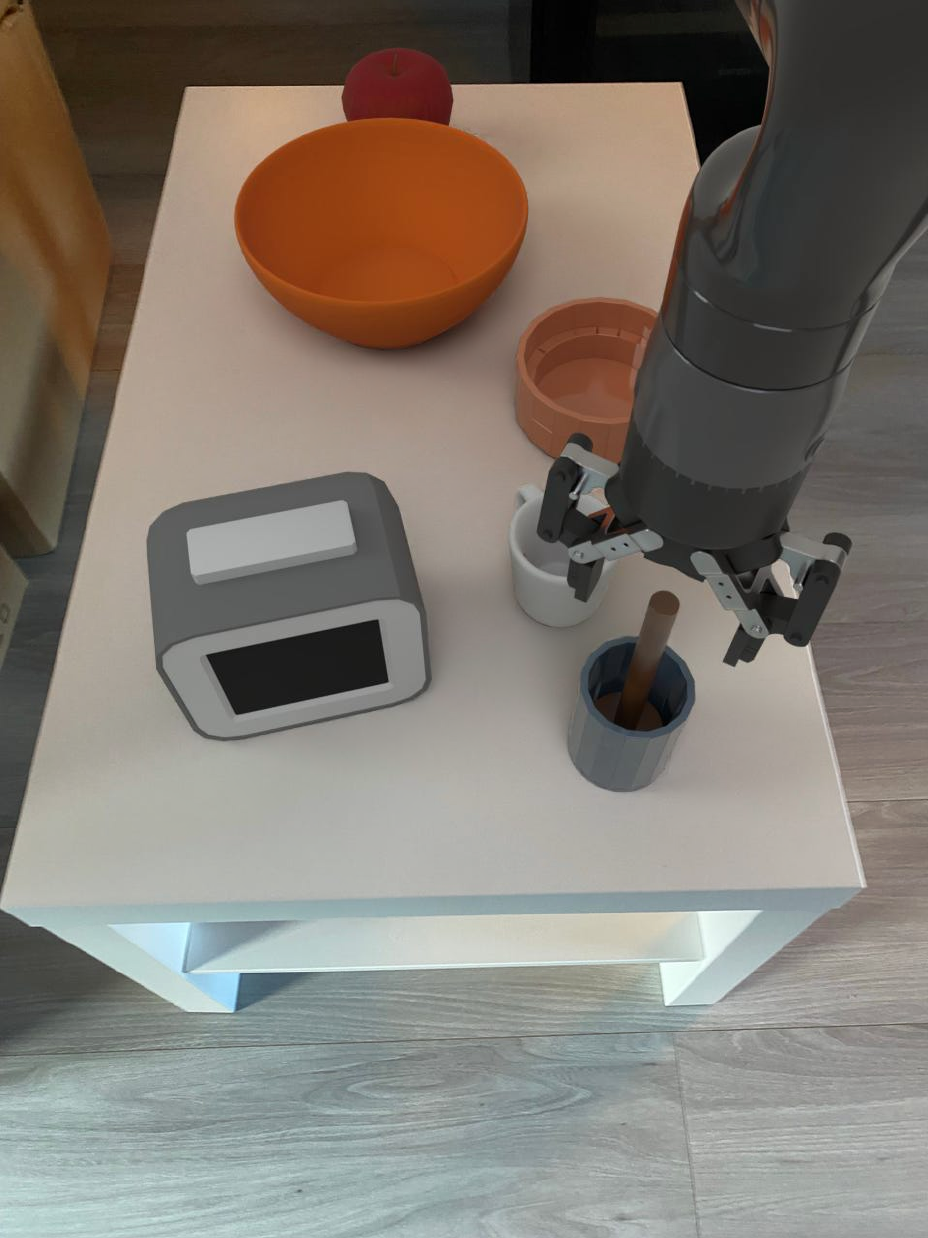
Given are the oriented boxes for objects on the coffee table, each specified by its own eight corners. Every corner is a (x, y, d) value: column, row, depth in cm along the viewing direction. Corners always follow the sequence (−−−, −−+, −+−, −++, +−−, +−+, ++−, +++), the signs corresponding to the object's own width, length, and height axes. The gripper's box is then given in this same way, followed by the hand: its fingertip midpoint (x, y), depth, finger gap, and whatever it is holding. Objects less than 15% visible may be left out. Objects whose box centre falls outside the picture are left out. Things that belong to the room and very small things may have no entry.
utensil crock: (684, 725, 67) (711, 664, 59) (646, 810, 63) (669, 757, 56) (592, 683, 68) (607, 619, 61) (551, 764, 65) (561, 707, 57)
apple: (447, 132, 103) (445, 18, 93) (461, 193, 97) (459, 79, 87) (346, 141, 102) (332, 27, 92) (354, 203, 97) (340, 89, 87)
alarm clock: (203, 747, 66) (135, 635, 53) (189, 612, 72) (124, 480, 58) (432, 697, 68) (423, 577, 55) (401, 570, 74) (385, 432, 60)
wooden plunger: (668, 726, 66) (728, 585, 50) (639, 789, 64) (693, 661, 48) (599, 695, 67) (637, 548, 52) (569, 755, 65) (599, 620, 49)
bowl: (493, 415, 82) (495, 324, 73) (217, 370, 85) (188, 278, 76) (545, 230, 94) (552, 134, 86) (303, 197, 97) (287, 101, 89)
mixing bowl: (703, 383, 83) (718, 330, 78) (641, 496, 77) (653, 447, 72) (557, 331, 87) (562, 277, 82) (486, 435, 81) (487, 384, 75)
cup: (473, 546, 75) (473, 480, 68) (564, 513, 76) (573, 446, 69) (532, 656, 70) (539, 598, 63) (628, 619, 71) (645, 558, 64)
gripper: (932, 409, 38) (807, 619, 51) (602, 295, 41) (568, 521, 55) (881, 546, 34) (761, 732, 48) (526, 409, 38) (510, 619, 52)
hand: (658, 619), depth 52 cm, fingers open, 8 cm apart
